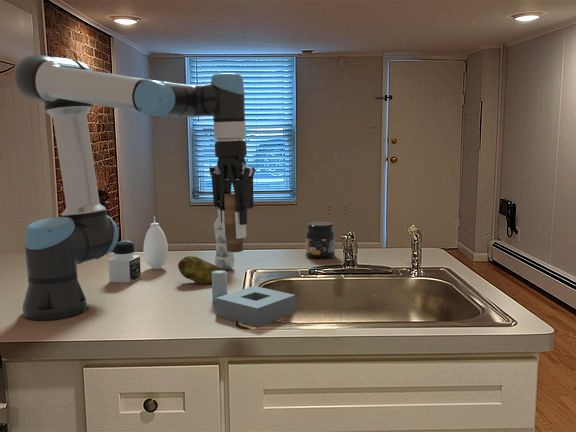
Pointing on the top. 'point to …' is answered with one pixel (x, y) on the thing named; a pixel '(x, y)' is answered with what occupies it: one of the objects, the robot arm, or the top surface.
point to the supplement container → (320, 240)
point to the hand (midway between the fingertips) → (234, 236)
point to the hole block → (255, 305)
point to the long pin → (231, 224)
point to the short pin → (219, 284)
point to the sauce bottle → (155, 246)
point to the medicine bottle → (124, 263)
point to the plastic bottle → (222, 247)
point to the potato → (197, 269)
